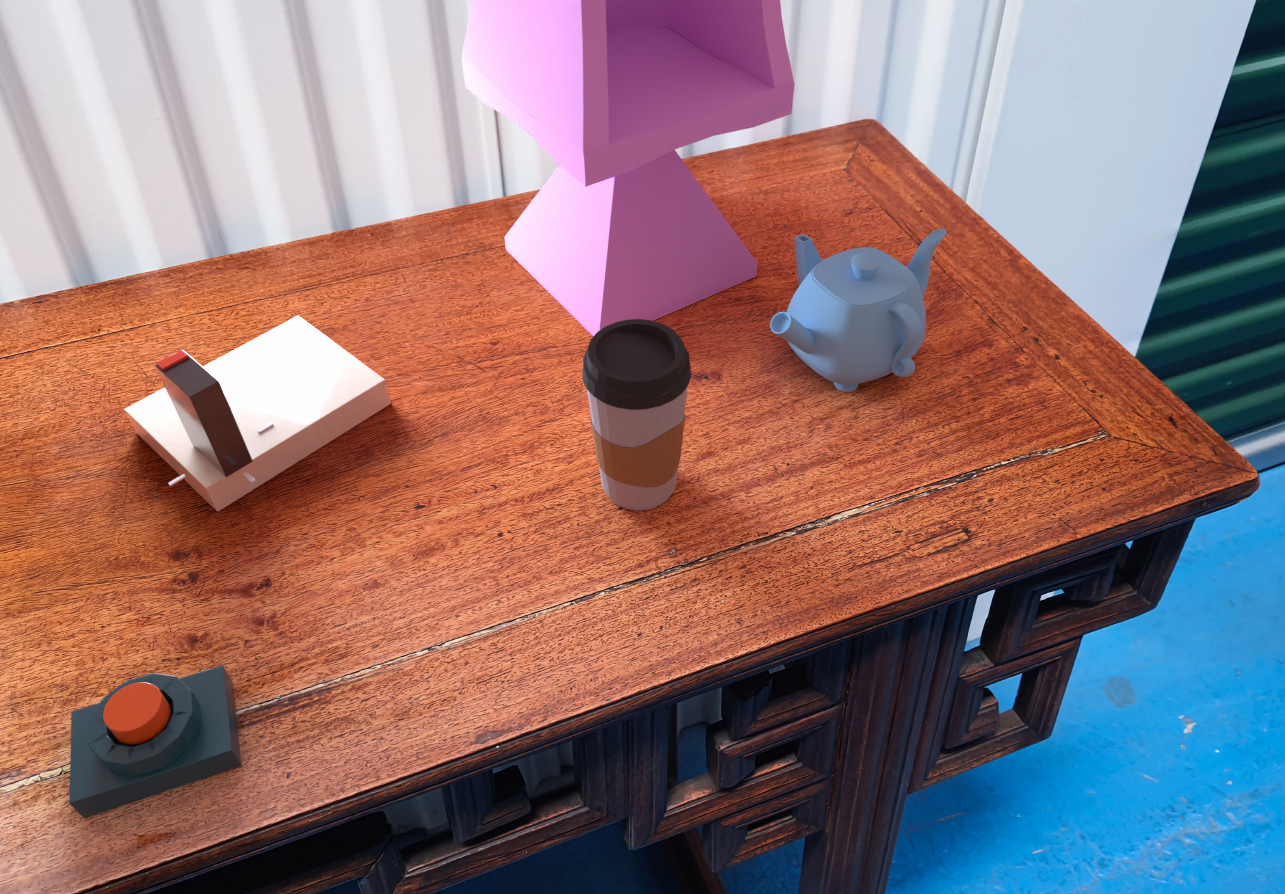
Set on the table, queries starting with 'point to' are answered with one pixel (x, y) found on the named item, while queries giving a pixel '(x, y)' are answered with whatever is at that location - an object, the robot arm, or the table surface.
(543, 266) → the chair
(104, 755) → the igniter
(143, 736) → the button
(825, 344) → the teapot
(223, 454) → the dark slab
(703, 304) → the table surface
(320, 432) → the switch panel
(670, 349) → the coffee cup
